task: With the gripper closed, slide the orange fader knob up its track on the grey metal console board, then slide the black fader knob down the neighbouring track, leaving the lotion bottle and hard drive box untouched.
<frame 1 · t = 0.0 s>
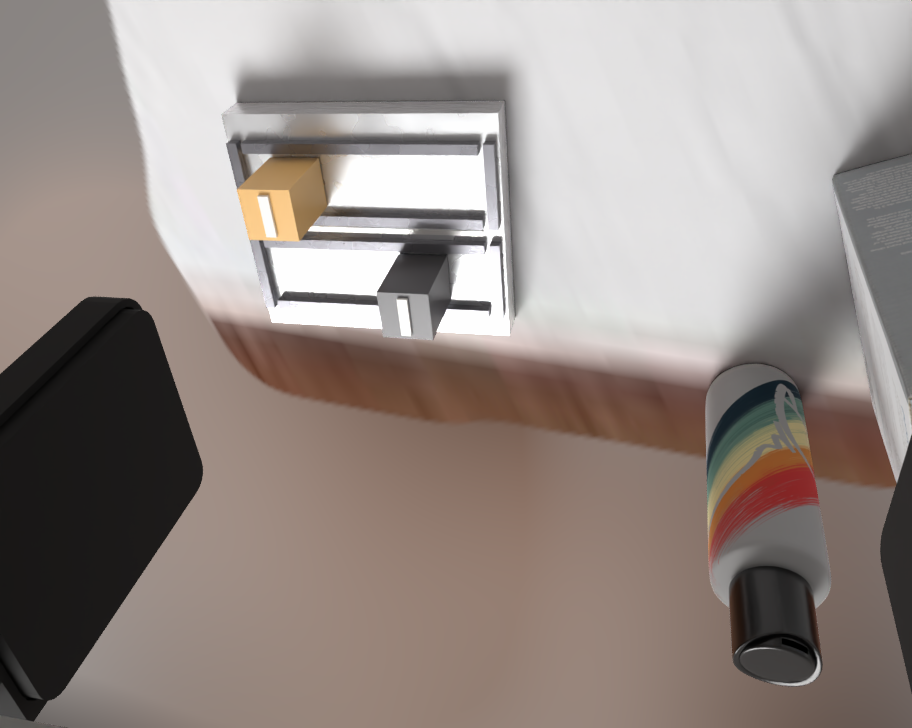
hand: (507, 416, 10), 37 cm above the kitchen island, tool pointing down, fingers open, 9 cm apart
fader B: (414, 296, 49), point 4 cm above the kitchen island, slide at 3.0 cm
lotion bottle: (751, 395, 53), on the kitchen island
fader A: (283, 199, 47), point 4 cm above the kitchen island, slide at -4.0 cm
console: (381, 215, 51), on the kitchen island
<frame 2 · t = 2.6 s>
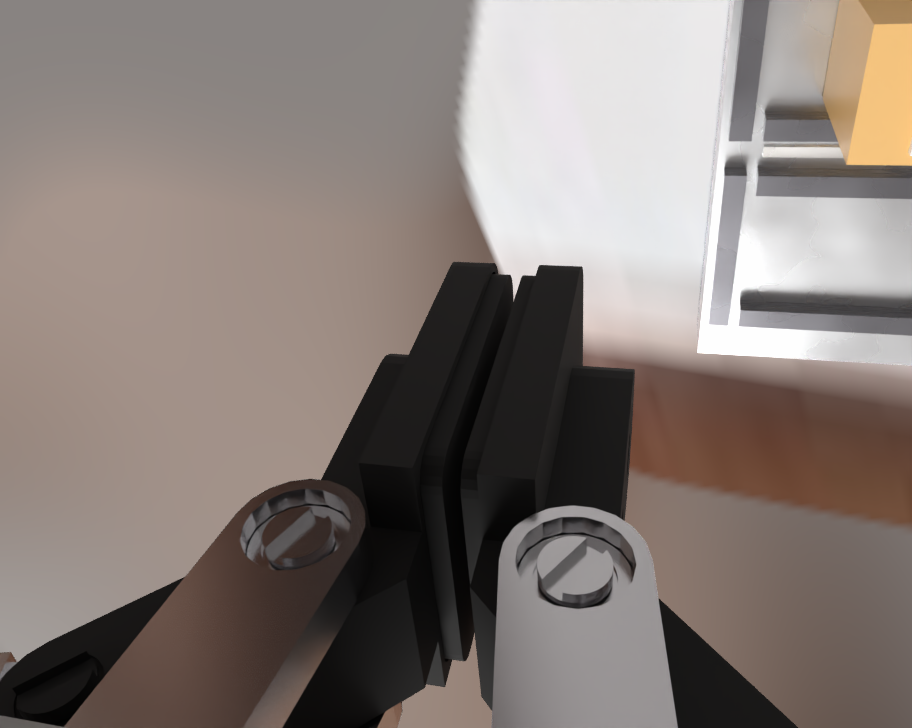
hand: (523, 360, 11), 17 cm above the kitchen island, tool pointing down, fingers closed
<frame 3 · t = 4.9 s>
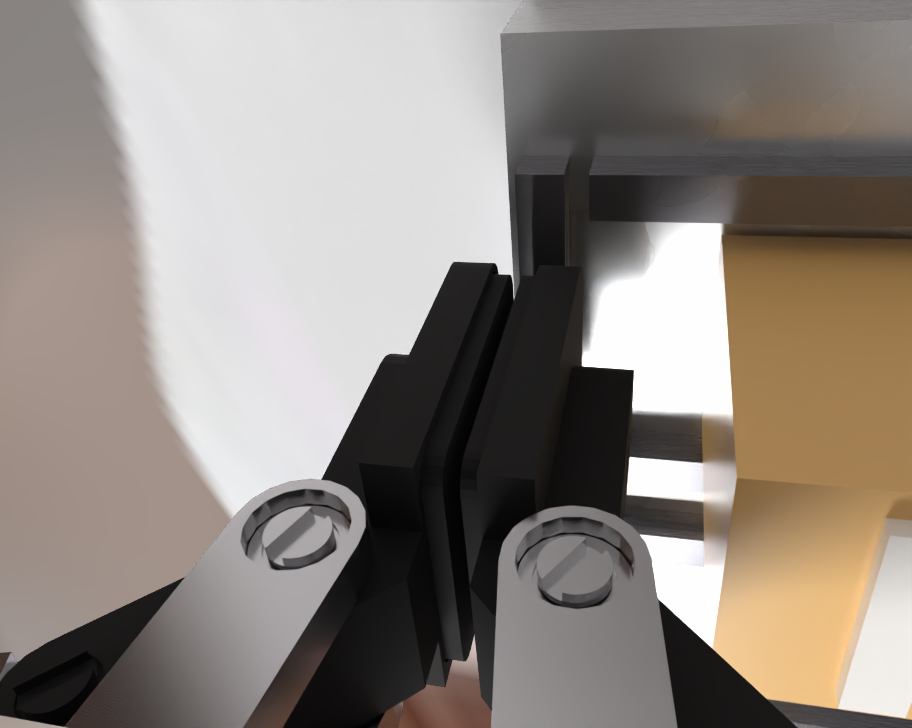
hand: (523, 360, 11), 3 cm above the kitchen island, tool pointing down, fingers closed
fader A: (856, 457, 9), point 4 cm above the kitchen island, slide at -3.8 cm, touching gripper
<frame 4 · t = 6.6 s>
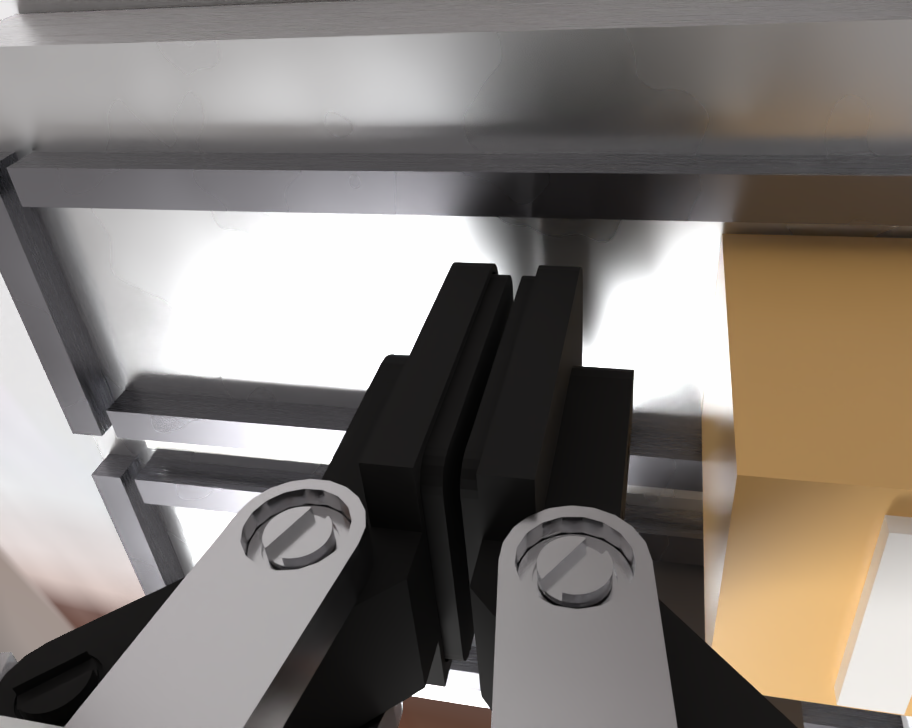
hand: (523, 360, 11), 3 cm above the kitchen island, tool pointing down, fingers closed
fader A: (856, 455, 9), point 4 cm above the kitchen island, slide at 4.4 cm, touching gripper
console: (529, 398, 15), on the kitchen island
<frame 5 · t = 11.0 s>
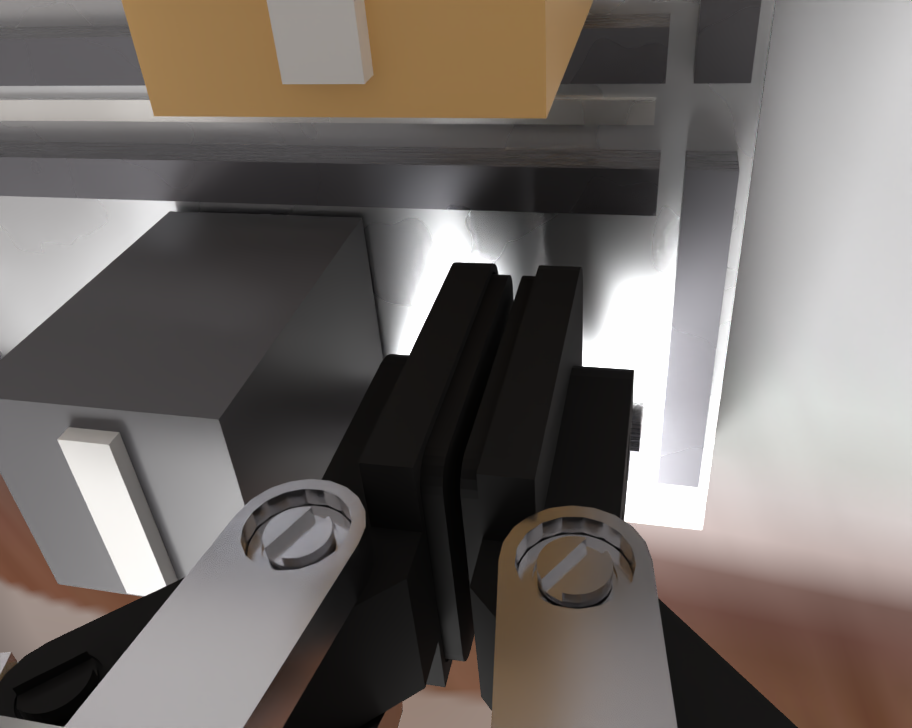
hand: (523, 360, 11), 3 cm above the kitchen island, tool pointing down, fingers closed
fader B: (214, 395, 11), point 4 cm above the kitchen island, slide at 1.4 cm, touching gripper
console: (215, 65, 13), on the kitchen island
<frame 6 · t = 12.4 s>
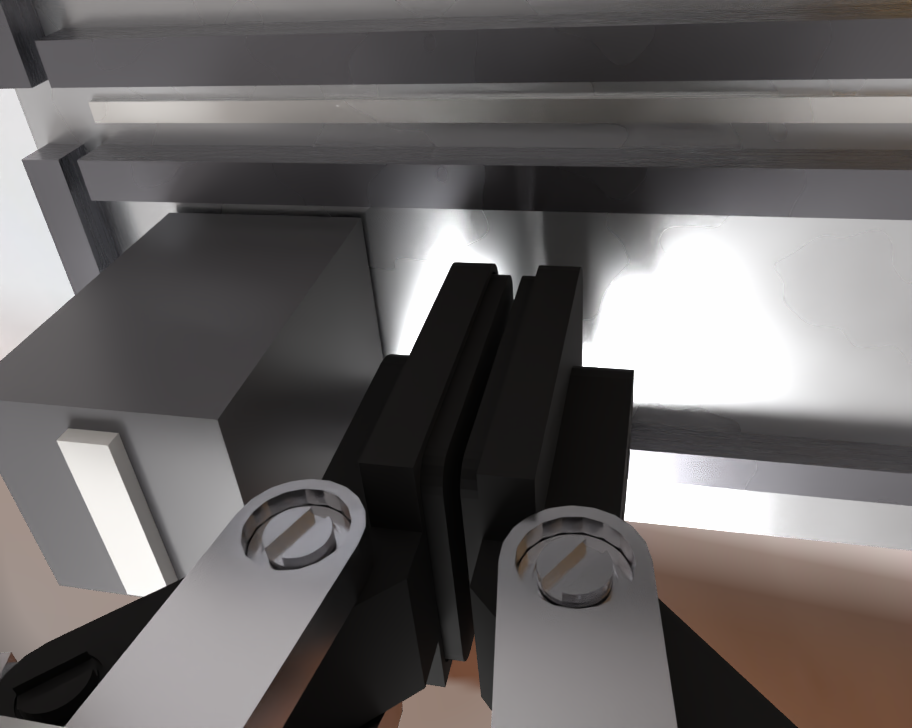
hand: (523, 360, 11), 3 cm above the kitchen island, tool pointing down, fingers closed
fader B: (214, 396, 11), point 4 cm above the kitchen island, slide at -4.6 cm, touching gripper
console: (596, 60, 12), on the kitchen island
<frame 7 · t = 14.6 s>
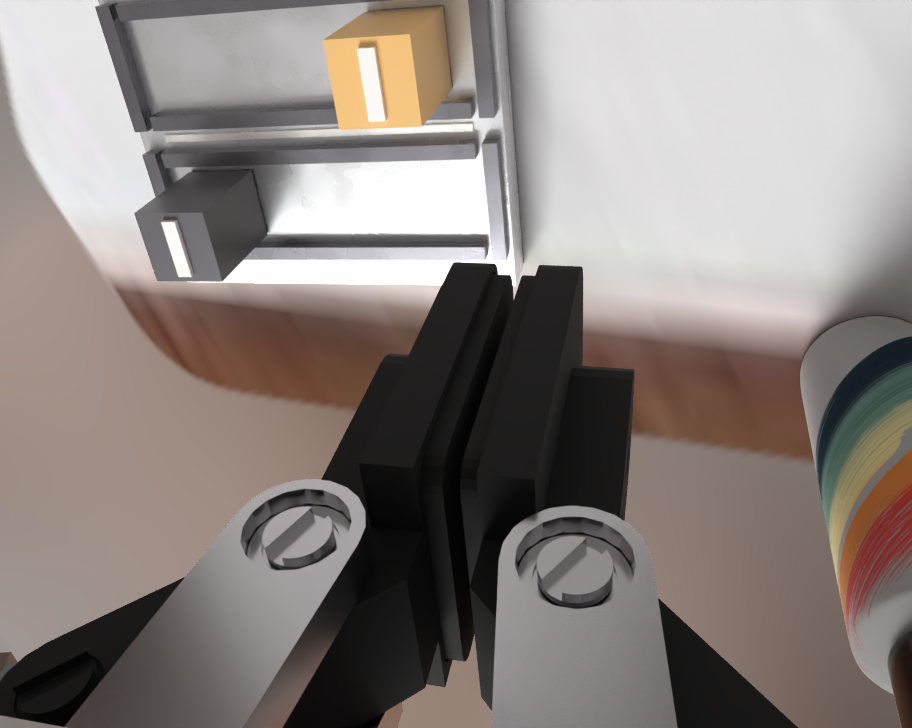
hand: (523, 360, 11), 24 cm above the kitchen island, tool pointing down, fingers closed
fader B: (204, 225, 35), point 4 cm above the kitchen island, slide at -4.6 cm
lotion bottle: (866, 365, 37), on the kitchen island
fader A: (391, 67, 30), point 4 cm above the kitchen island, slide at 4.6 cm
console: (329, 117, 36), on the kitchen island
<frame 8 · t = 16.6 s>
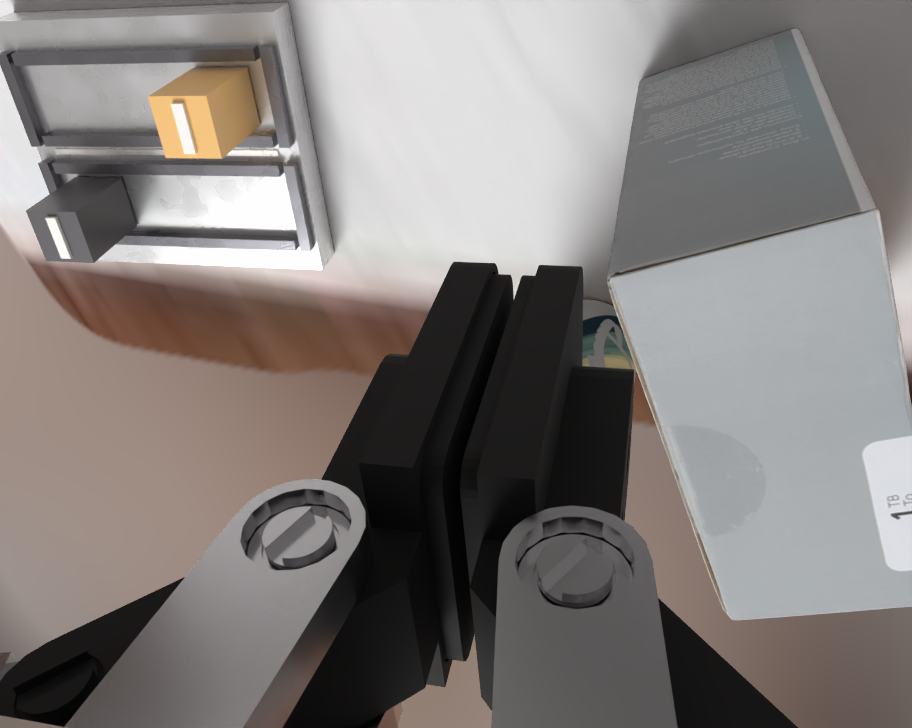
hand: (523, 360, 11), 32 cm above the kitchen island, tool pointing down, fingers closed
fader B: (83, 219, 47), point 4 cm above the kitchen island, slide at -4.6 cm
lotion bottle: (588, 336, 49), on the kitchen island
hard drive box: (750, 196, 42), on the kitchen island
fader A: (206, 112, 41), point 4 cm above the kitchen island, slide at 4.6 cm
console: (181, 138, 47), on the kitchen island
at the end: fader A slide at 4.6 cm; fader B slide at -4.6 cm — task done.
